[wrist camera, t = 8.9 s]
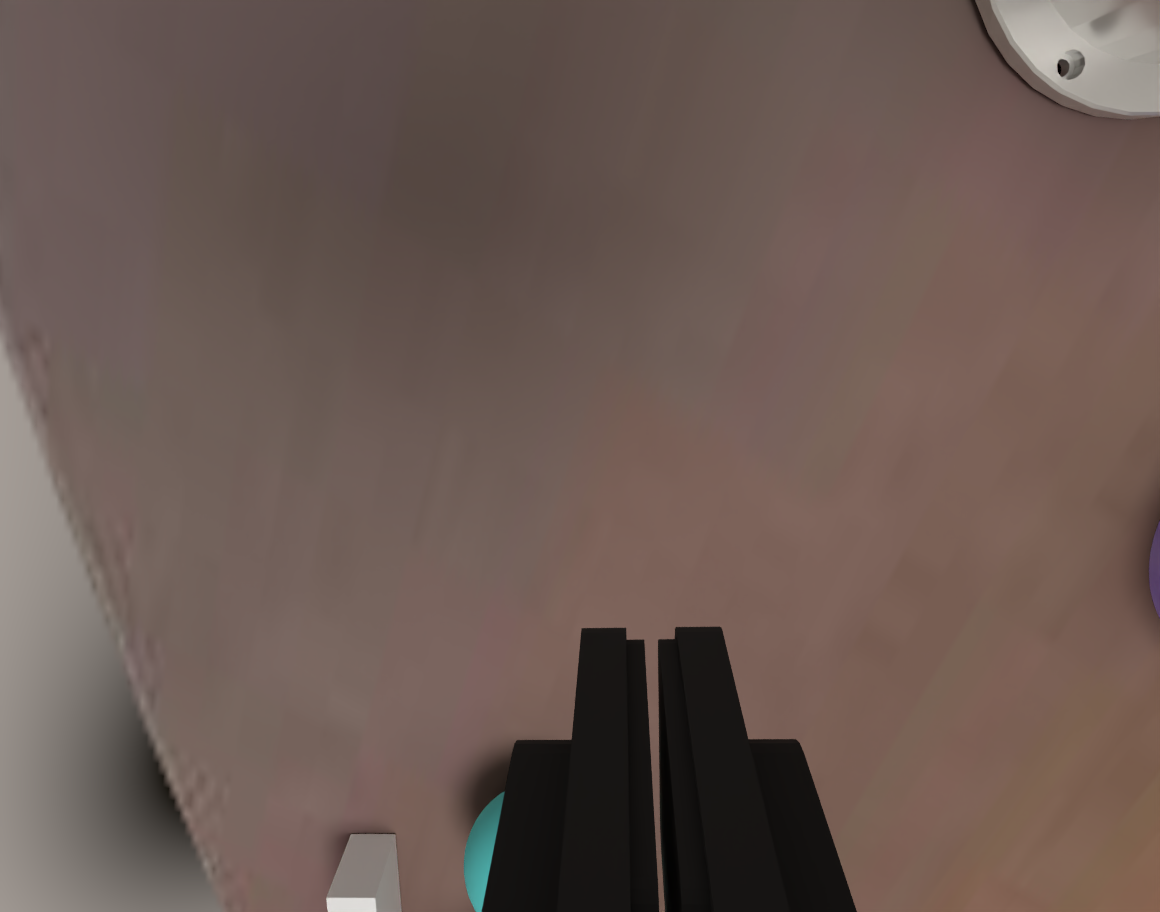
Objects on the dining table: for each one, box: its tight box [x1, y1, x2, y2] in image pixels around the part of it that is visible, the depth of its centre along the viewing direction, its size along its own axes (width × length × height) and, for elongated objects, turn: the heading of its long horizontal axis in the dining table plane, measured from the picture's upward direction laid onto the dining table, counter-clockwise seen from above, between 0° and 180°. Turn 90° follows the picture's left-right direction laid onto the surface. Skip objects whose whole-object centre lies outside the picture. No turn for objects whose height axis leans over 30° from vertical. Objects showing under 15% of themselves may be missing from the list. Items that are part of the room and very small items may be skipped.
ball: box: [464, 791, 505, 912], centre depth 32 cm, size 6×6×6 cm
